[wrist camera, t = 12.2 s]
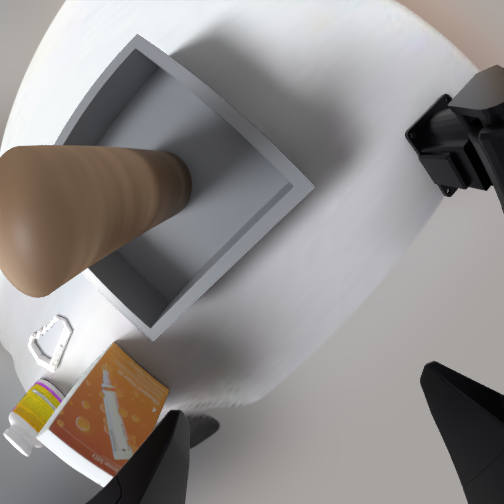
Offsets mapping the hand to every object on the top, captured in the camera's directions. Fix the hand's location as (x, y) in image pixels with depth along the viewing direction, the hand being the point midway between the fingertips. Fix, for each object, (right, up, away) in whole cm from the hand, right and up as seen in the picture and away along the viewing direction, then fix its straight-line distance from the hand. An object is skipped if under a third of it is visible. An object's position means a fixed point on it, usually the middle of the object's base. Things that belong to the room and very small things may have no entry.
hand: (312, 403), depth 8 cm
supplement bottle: (-33, -17, +22) cm, 43 cm away
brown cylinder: (-9, +10, +10) cm, 17 cm away
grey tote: (-9, +10, +11) cm, 17 cm away
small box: (-16, -9, +18) cm, 25 cm away
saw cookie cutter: (-28, -6, +18) cm, 34 cm away
